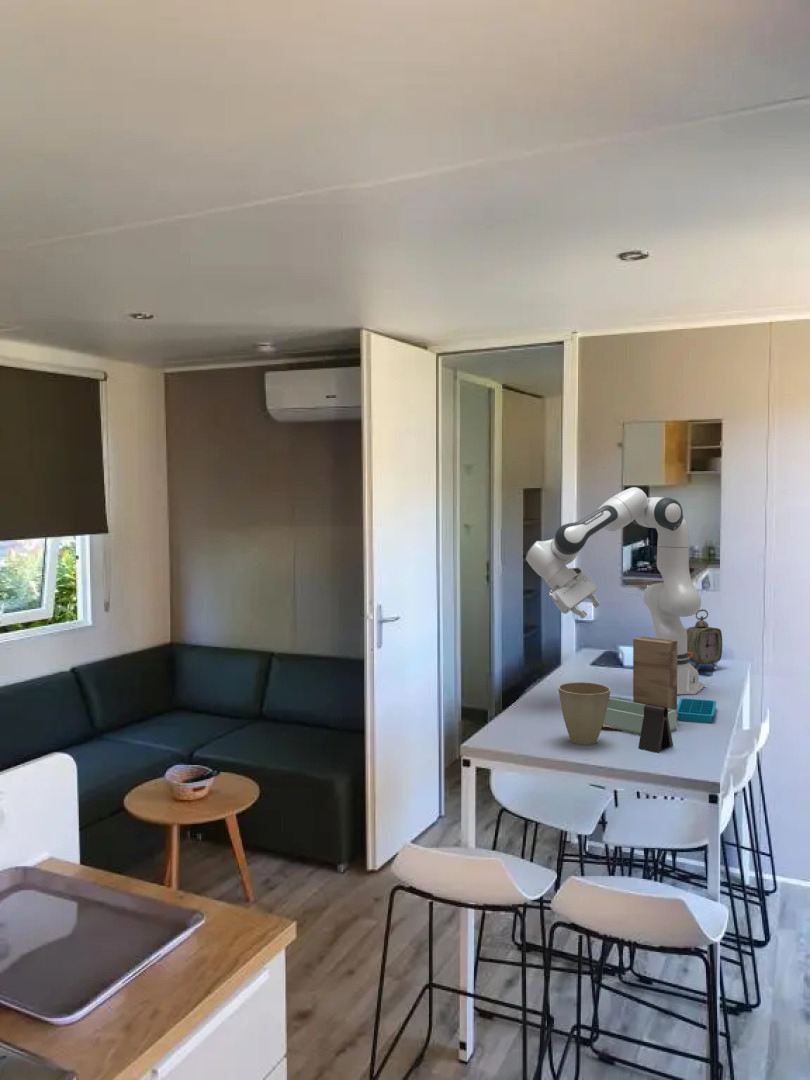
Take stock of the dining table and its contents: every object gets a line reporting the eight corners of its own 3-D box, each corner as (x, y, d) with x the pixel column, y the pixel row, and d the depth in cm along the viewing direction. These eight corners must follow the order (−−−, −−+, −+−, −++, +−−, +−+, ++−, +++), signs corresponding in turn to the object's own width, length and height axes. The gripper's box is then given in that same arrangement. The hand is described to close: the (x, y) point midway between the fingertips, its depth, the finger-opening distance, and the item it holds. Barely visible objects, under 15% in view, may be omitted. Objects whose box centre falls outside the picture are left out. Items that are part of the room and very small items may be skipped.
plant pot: (562, 749, 238) (561, 693, 237) (555, 734, 253) (555, 682, 252) (615, 749, 237) (615, 693, 236) (605, 734, 252) (605, 682, 251)
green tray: (598, 713, 275) (598, 695, 275) (676, 729, 255) (676, 710, 255) (576, 721, 266) (576, 702, 266) (655, 738, 247) (655, 718, 246)
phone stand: (657, 753, 233) (657, 710, 232) (638, 748, 237) (638, 707, 237) (673, 746, 239) (673, 704, 239) (654, 741, 243) (654, 701, 243)
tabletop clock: (697, 674, 332) (697, 612, 331) (679, 670, 340) (679, 609, 339) (722, 670, 339) (722, 609, 338) (704, 666, 347) (704, 606, 346)
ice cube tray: (716, 709, 280) (716, 700, 280) (713, 725, 261) (713, 715, 261) (680, 706, 284) (680, 697, 284) (674, 721, 266) (674, 712, 265)
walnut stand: (642, 715, 272) (642, 636, 271) (677, 722, 264) (677, 640, 262) (633, 719, 268) (633, 639, 266) (667, 726, 259) (667, 643, 258)
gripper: (552, 586, 274) (581, 617, 270) (582, 565, 288) (610, 594, 284) (542, 598, 278) (571, 628, 274) (572, 576, 292) (600, 605, 288)
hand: (591, 611), depth 279 cm, fingers open, 8 cm apart
